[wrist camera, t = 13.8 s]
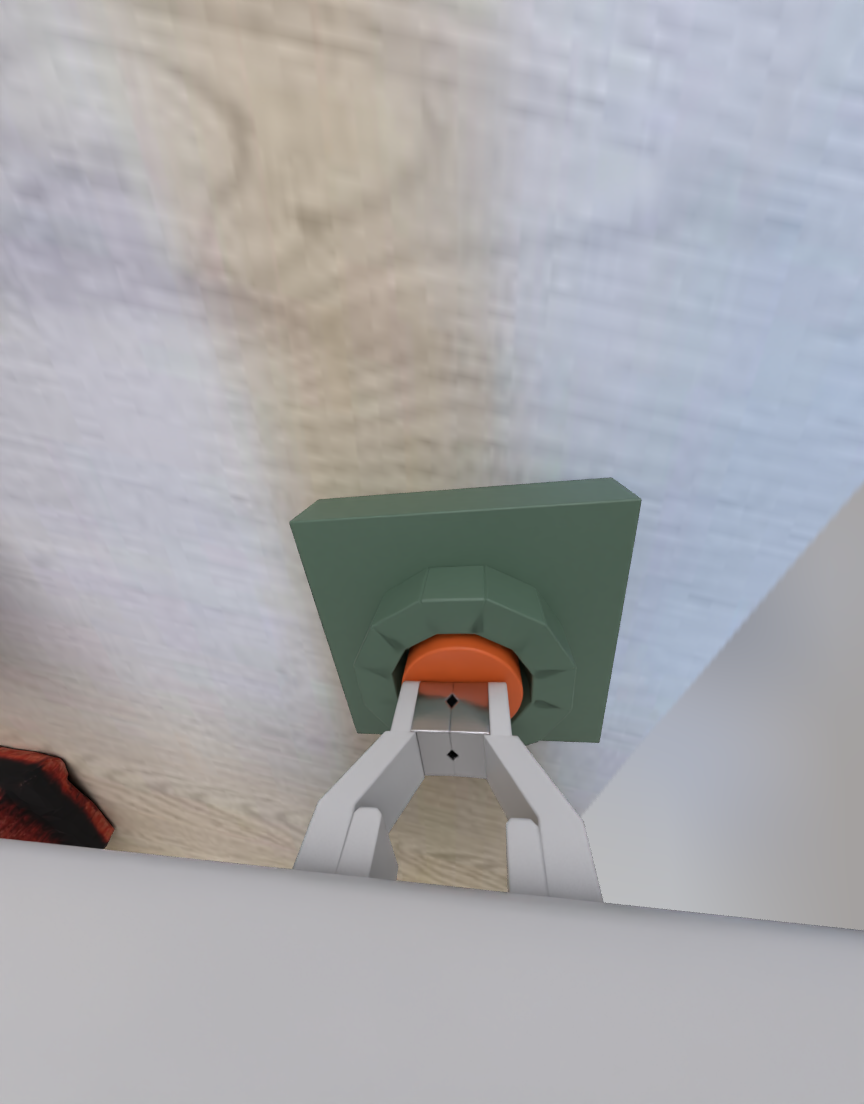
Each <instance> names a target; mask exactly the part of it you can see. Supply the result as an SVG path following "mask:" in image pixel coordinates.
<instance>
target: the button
mask: <svg viewBox="0 0 864 1104" xmlns="http://www.w3.org/2000/svg"><path fill="white" fill-rule="evenodd" d="M404 681H436V682H506V684H507V691H508V701H509V711H510V719H511V718H512V717H513V716H514V715H515V714H516V712H517V711H518V709H519V707H520V705H521V702H522V699H523V685H522V679H521V672H520V666H519V659H518V656H517V655H516V654H515V653H514V651H513V650H512V649H509V648H507V647H505V646H502V645H500V644H497V643H495V642H493V641H490V640H488V639H486V638H483V637H481V636H479V635H476V634H436V635H434V636H432V637H430V638H428V639H426V640H424V641H422V642H420V643H418V644H416V645H414V646H412V647H410V649H409V653H408V657H407V661H406V665H405V669H404V673H403V677H402V684H403V682H404ZM488 696H489V695H488Z"/></svg>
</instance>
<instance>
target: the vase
mask: <svg viewBox="0 0 864 1104" xmlns="http://www.w3.org/2000/svg"><path fill="white" fill-rule="evenodd" d="M67 777H68V771H67V769H66V767H65V763H64V762H63V761H62V760H61V759H60V758H57V757H52V756H49V755H45V754H41V753H38V752H32V751H24V750H16V749H10V748H5V747H0V838H2V839H12V840H21V841H31V842H40V843H50V844H59V845H69V846H78V847H88V848H97V849H104V848H105V847H106V846H107V844H108V842H109V840H110V837H111V835H112V833H113V832H114V828H113V827H112V825H111V824H110V823H109V822H108V821H107V820H106V818H105V817H104V816H103V814H102V813H101V812H100V810H99V809H98V808H97V806H96V805H95V804H94V803H93V802H92V801H91V800H90V799H89V798H87V797H86V796H85V795H83V794H82V793H81V792H80V791H79V790H78V789H77V788H76V787H75V786H73V785H72V784H71V783H70V782H69V781H68V780H67Z"/></svg>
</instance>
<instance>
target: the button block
mask: <svg viewBox="0 0 864 1104" xmlns="http://www.w3.org/2000/svg"><path fill="white" fill-rule="evenodd" d="M640 506H641V498H639V497H638V496H637V495H635V494H634V493H632V492H631V491H630V490H628V489H627V488H626V487H624V486H623V485H621V484H620V483H619V482H617V481H616V480H615V479H613V478H599V479H585V480H572V481H559V482H546V483H532V484H519V485H506V486H492V487H479V488H466V489H452V490H439V491H426V492H413V493H399V494H386V495H373V496H359V497H346V498H333V499H319V500H317V501H316V502H315V503H313V504H312V505H311V506H310V507H308V508H307V509H306V510H304V511H303V512H302V513H300V514H299V515H298V516H296V517H295V518H294V519H292V520H291V521H290V527H291V530H292V533H293V536H294V539H295V542H296V545H297V548H298V551H299V554H300V558H301V561H302V564H303V567H304V570H305V573H306V576H307V579H308V582H309V585H310V588H311V592H312V595H313V598H314V601H315V604H316V607H317V610H318V613H319V616H320V619H321V622H322V626H323V629H324V632H325V635H326V638H327V641H328V644H329V647H330V650H331V653H332V656H333V660H334V663H335V666H336V669H337V672H338V675H339V678H340V681H341V684H342V687H343V691H344V694H345V697H346V700H347V703H348V706H349V709H350V712H351V715H352V718H353V721H354V725H355V728H356V731H357V733H361V734H383V733H384V732H385V731H390V730H391V726H392V722H393V718H394V714H395V710H396V706H397V702H398V698H399V694H400V690H401V686H402V677H403V673H404V669H405V665H406V661H407V657H408V653H409V649H410V647H412V646H414V645H416V644H418V643H420V642H422V641H424V640H426V639H428V638H430V637H432V636H434V635H436V634H476V635H479V636H481V637H483V638H486V639H488V640H490V641H493V642H495V643H497V644H500V645H502V646H505V647H507V648H509V649H512V650H513V651H514V653H515V654H516V655H517V656H518V659H519V666H520V672H521V679H522V685H523V699H522V702H521V705H520V707H519V709H518V711H517V712H516V714H515V715H514V716H513V717H512V718H511V719H510V721H511V730H512V736H518V737H519V738H520V740H521V741H522V742H523V743H524V745H525V746H526V745H529V744H533V743H536V742H538V741H564V742H589V743H599V742H600V736H601V730H602V725H603V719H604V713H605V707H606V702H607V696H608V690H609V684H610V679H611V673H612V667H613V661H614V656H615V650H616V644H617V638H618V633H619V627H620V621H621V615H622V610H623V604H624V598H625V592H626V587H627V581H628V575H629V569H630V564H631V558H632V552H633V546H634V541H635V535H636V529H637V523H638V518H639V512H640Z"/></svg>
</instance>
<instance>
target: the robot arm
mask: <svg viewBox="0 0 864 1104" xmlns="http://www.w3.org/2000/svg"><path fill="white" fill-rule="evenodd" d="M488 695H489V696H488ZM424 775H432V776H460V777H471V778H483V779H487V782H488V784H489V786H490V787H491V789H492V791H493V793H494V795H495V797H496V799H497V800H498V802H499V804H500V806H501V808H502V810H503V812H504V814H505V815H506V817H507V819H508V822H507V823H506V858H507V889H508V892H500V891H491V890H481V889H472V888H463V887H453V886H444V885H435V884H425V883H416V882H407V881H397V880H396V879H397V872H398V864H397V861H396V857H395V854H394V851H393V848H392V845H391V842H390V839H389V835H388V833H389V832H390V830H391V829H392V827H393V826H394V824H395V823H396V821H397V819H398V818H399V816H400V815H401V813H402V812H403V810H404V809H405V807H406V806H407V804H408V803H409V801H410V799H411V798H412V796H413V795H414V793H415V792H416V790H417V789H418V787H419V786H420V784H421V783H422V781H423V779H424V778H425V776H424ZM0 1104H864V930H854V929H845V928H835V927H827V926H817V925H807V924H798V923H789V922H780V921H770V920H761V919H752V918H742V917H733V916H724V915H714V914H705V913H695V912H686V911H677V910H667V909H658V908H649V907H640V906H631V905H621V904H612V903H604V902H603V898H602V894H601V890H600V886H599V882H598V878H597V874H596V869H595V866H594V862H593V857H592V853H591V849H590V845H589V841H588V837H587V833H586V829H585V825H584V821H583V820H582V819H581V817H580V816H579V815H578V813H577V812H576V811H575V809H574V808H573V807H572V806H571V804H570V803H569V802H568V800H567V799H566V798H565V797H564V795H563V794H562V793H561V791H560V790H559V789H558V787H557V786H556V785H555V784H554V782H553V781H552V780H551V778H550V777H549V776H548V774H547V773H546V772H545V771H544V769H543V768H542V767H541V765H540V764H539V763H538V762H537V760H536V759H535V758H534V756H533V755H532V754H531V752H530V751H529V750H528V749H527V747H526V746H525V745H524V743H523V742H522V741H521V740H520V738H519V737H518V736H512V730H511V721H510V711H509V701H508V691H507V684H506V682H436V681H404V682H403V684H402V686H401V690H400V694H399V698H398V702H397V706H396V710H395V714H394V718H393V722H392V726H391V730H390V731H385V732H384V733H383V734H382V735H381V736H380V737H379V738H378V739H377V740H376V741H375V742H374V743H373V744H372V745H371V746H370V747H369V749H368V750H367V751H366V752H365V753H364V754H363V755H362V756H361V757H360V758H359V759H358V760H357V761H356V762H355V763H354V764H353V765H352V766H351V767H350V768H349V769H348V770H347V772H346V773H345V774H344V775H343V776H342V777H341V778H340V779H339V780H338V781H337V782H336V783H335V784H334V785H333V786H332V787H331V788H330V789H329V790H328V791H327V792H326V793H325V795H324V796H323V797H322V798H321V799H320V800H319V801H318V803H317V805H316V808H315V811H314V813H313V816H312V819H311V821H310V824H309V826H308V829H307V832H306V834H305V837H304V840H303V842H302V845H301V848H300V850H299V853H298V855H297V858H296V861H295V863H294V866H293V869H285V868H275V867H266V866H257V865H247V864H238V863H229V862H219V861H210V860H200V859H191V858H182V857H172V856H163V855H153V854H144V853H135V852H125V851H116V850H106V849H97V848H88V847H78V846H69V845H59V844H50V843H40V842H31V841H21V840H12V839H2V838H0Z"/></svg>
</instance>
